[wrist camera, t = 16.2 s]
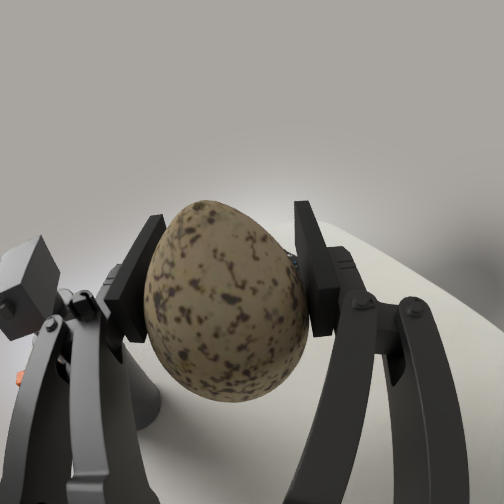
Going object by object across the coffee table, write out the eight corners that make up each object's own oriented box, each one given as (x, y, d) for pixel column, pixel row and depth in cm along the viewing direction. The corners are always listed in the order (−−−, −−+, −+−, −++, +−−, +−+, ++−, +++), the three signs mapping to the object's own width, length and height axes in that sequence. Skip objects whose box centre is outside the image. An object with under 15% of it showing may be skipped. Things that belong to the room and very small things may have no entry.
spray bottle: (114, 446, 19) (-37, 316, 8) (103, 385, 25) (-1, 245, 14) (172, 431, 21) (40, 281, 10) (153, 370, 27) (65, 213, 16)
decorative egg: (179, 429, 11) (63, 295, 6) (181, 328, 17) (128, 186, 11) (318, 410, 12) (355, 250, 6) (289, 311, 18) (283, 159, 12)
